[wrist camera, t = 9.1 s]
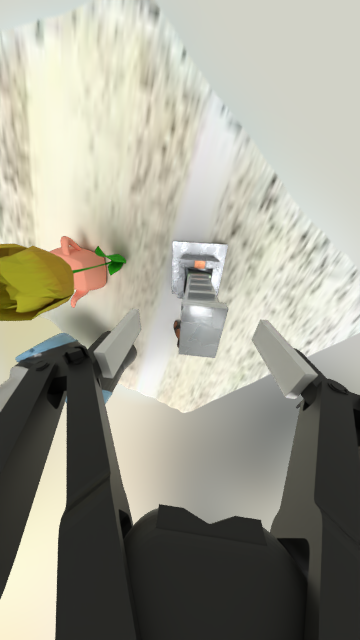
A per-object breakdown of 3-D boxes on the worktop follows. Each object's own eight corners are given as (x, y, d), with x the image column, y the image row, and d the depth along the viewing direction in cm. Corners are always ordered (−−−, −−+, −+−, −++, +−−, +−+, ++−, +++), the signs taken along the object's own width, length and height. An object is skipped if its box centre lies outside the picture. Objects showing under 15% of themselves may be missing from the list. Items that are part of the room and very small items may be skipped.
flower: (134, 276, 41) (38, 337, 16) (108, 268, 41) (-33, 319, 15) (137, 245, 37) (7, 263, 11) (108, 236, 36) (-95, 233, 11)
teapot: (107, 242, 37) (79, 243, 28) (110, 299, 47) (90, 314, 38) (66, 230, 37) (25, 228, 28) (77, 291, 46) (49, 304, 37)
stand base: (172, 291, 43) (165, 309, 32) (173, 241, 35) (164, 242, 25) (216, 295, 42) (223, 314, 31) (226, 244, 35) (240, 247, 24)
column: (186, 291, 32) (177, 353, 15) (189, 264, 29) (180, 304, 12) (204, 292, 32) (216, 358, 14) (208, 266, 29) (230, 309, 11)
